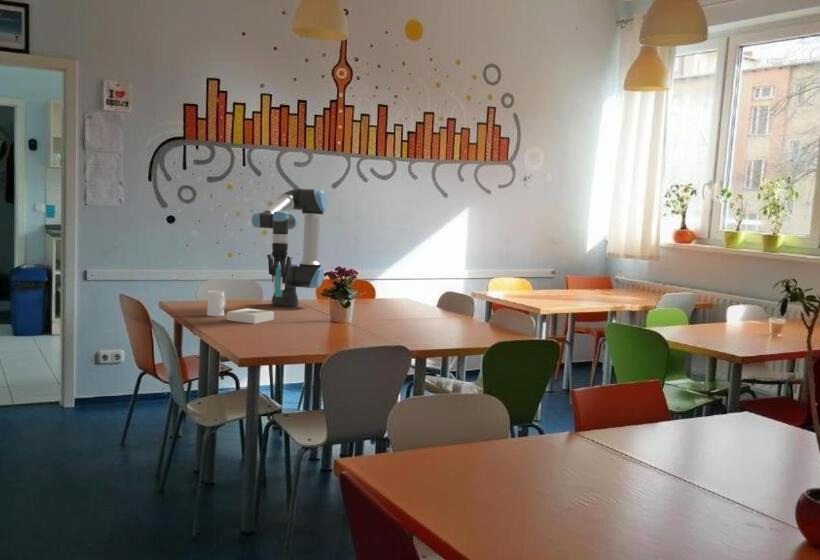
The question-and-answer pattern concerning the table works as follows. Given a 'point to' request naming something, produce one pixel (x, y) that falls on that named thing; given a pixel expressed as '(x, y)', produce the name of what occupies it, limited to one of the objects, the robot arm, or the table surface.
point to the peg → (278, 283)
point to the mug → (216, 303)
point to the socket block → (250, 315)
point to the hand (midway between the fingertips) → (278, 289)
